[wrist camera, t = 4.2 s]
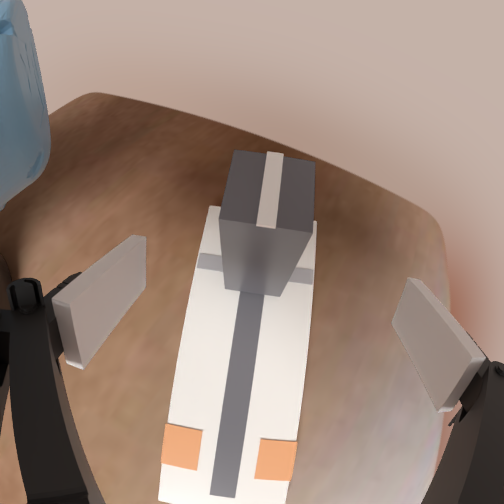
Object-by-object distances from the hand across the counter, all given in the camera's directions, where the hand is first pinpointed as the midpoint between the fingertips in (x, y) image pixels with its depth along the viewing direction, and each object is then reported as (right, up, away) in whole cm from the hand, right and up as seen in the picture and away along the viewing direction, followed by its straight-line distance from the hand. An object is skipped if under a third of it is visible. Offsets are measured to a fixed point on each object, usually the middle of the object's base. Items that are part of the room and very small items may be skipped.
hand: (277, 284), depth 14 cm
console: (-2, -7, +8) cm, 11 cm away
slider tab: (-1, 0, +8) cm, 8 cm away
